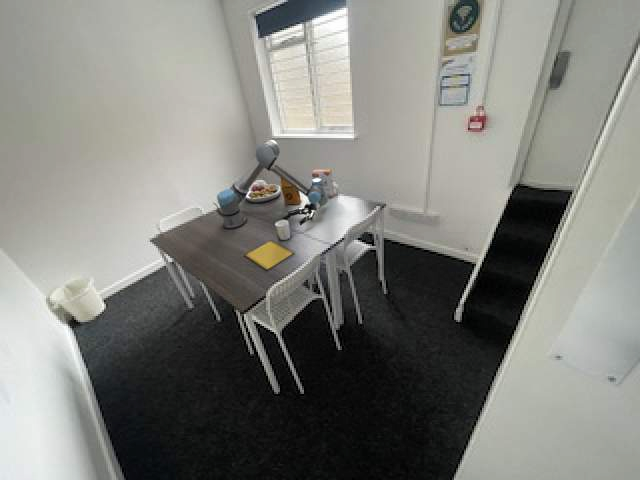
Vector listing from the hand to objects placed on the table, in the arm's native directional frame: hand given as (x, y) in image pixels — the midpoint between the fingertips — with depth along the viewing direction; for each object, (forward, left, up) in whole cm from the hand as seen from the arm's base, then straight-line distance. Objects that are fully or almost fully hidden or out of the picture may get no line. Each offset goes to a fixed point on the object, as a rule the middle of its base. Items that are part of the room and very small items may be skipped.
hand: (291, 221), depth 161 cm
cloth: (+8, -25, -7) cm, 27 cm away
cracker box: (-21, +49, -7) cm, 54 cm away
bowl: (-69, +24, -7) cm, 73 cm away
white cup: (+1, -8, -7) cm, 11 cm away
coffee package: (-35, +28, -7) cm, 45 cm away
